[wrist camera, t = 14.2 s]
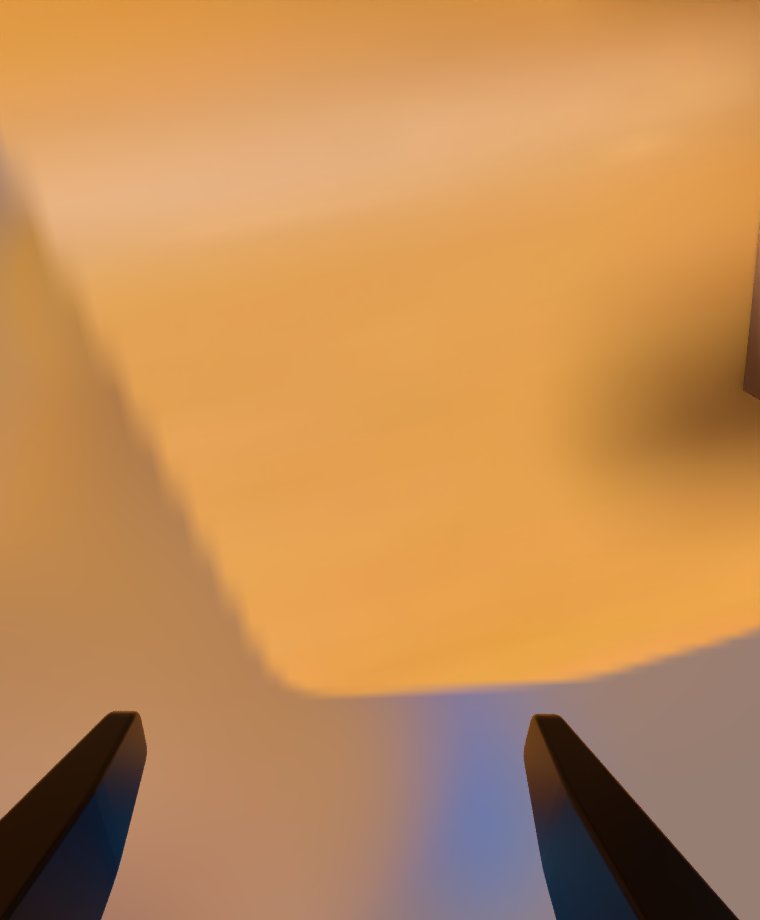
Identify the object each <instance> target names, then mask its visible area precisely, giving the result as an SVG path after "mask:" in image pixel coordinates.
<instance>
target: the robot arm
mask: <svg viewBox="0 0 760 920" xmlns="http://www.w3.org/2000/svg"><path fill="white" fill-rule="evenodd" d="M146 755H147V745H146V740H145V735H144V730H143V726H142V721H141V717H140V715H139V713H138V712H136V711H113V712H111V713H109V714H107V715H106V716H105V717H104V718H103V719H102V720H101V721H100V722H99V723H98V724H97V725H96V726H95V727H94V728H93V729H92V730H91V731H90V732H89V733H88V734H87V735H86V736H85V737H84V738H83V739H82V740H81V741H80V742H79V743H78V744H77V745H76V746H75V747H74V748H73V749H72V750H71V751H69V752H68V754H66V756H65V757H64V758H63V759H61V760H60V761H59V762H58V763H57V764H56V765H55V766H54V767H53V768H52V769H51V770H50V771H49V772H48V773H47V774H46V775H45V776H44V777H43V778H42V779H41V780H40V781H39V782H38V783H37V784H36V785H35V786H34V787H33V788H32V789H31V790H30V791H29V792H28V793H27V794H26V795H25V796H24V797H23V798H22V799H21V800H20V801H19V802H18V803H17V804H16V805H15V806H14V807H13V808H12V809H11V810H10V811H9V812H8V813H7V814H6V815H5V816H4V817H3V818H2V819H1V820H0V920H101V918H102V915H103V912H104V910H105V907H106V904H107V901H108V898H109V896H110V892H111V890H112V887H113V884H114V881H115V878H116V875H117V871H118V868H119V865H120V861H121V857H122V853H123V850H124V845H125V842H126V837H127V833H128V830H129V825H130V822H131V818H132V813H133V810H134V806H135V801H136V797H137V794H138V789H139V786H140V782H141V778H142V774H143V770H144V766H145V761H146ZM524 763H525V769H526V775H527V781H528V787H529V793H530V799H531V804H532V810H533V816H534V822H535V828H536V833H537V839H538V845H539V850H540V856H541V861H542V867H543V871H544V875H545V879H546V883H547V887H548V891H549V894H550V898H551V902H552V905H553V909H554V913H555V916H556V920H739V919H738V918H737V917H736V916H735V915H734V913H733V912H732V911H731V910H730V909H729V908H728V907H727V905H726V904H725V903H724V902H723V901H722V900H721V899H720V897H719V896H718V895H717V894H716V893H715V892H714V891H713V889H712V888H711V887H710V886H709V885H708V884H707V883H706V882H705V880H704V879H703V878H702V877H701V876H700V875H699V873H698V872H697V871H696V870H695V869H694V868H693V867H692V865H691V864H690V863H689V862H688V861H687V860H686V859H685V857H684V856H683V855H682V854H681V853H680V852H679V851H678V850H677V848H676V847H675V846H674V845H673V844H672V843H671V841H670V840H669V839H668V838H667V837H666V836H665V835H664V834H663V832H662V831H661V830H660V829H659V828H658V827H657V825H656V824H655V823H654V822H653V821H652V820H651V819H650V818H649V816H648V815H647V814H646V813H645V812H644V811H643V810H642V808H641V807H640V806H639V805H638V804H637V803H636V802H635V800H634V799H633V798H632V797H631V796H630V795H629V794H628V792H627V791H626V790H625V789H624V788H623V787H622V786H621V784H620V783H619V782H618V781H617V780H616V779H615V778H614V776H613V775H612V774H611V773H610V772H609V771H608V770H607V768H606V767H605V766H604V765H603V764H602V763H601V762H600V760H599V759H598V758H597V757H596V756H595V755H594V754H593V752H592V751H591V750H590V749H589V748H588V747H587V746H586V744H585V743H584V742H583V741H582V740H581V739H580V738H579V736H578V735H577V734H576V733H575V732H574V731H573V730H572V728H571V727H570V726H569V725H568V724H567V723H566V722H565V720H564V719H563V718H562V717H560V716H559V715H556V714H535V715H534V716H533V717H532V719H531V722H530V726H529V730H528V734H527V738H526V742H525V746H524Z"/></svg>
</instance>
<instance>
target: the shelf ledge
mask: <svg viewBox="0 0 760 920" xmlns="http://www.w3.org/2000/svg"><path fill="white" fill-rule="evenodd" d="M743 390H744V391H745V392H747V393H749V394H751V395H752V396H754V397H756V398H758V399H759V400H760V229H759V239H758V249H757V259H756V269H755V279H754V289H753V299H752V309H751V319H750V329H749V339H748V349H747V359H746V369H745V379H744V389H743Z"/></svg>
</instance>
